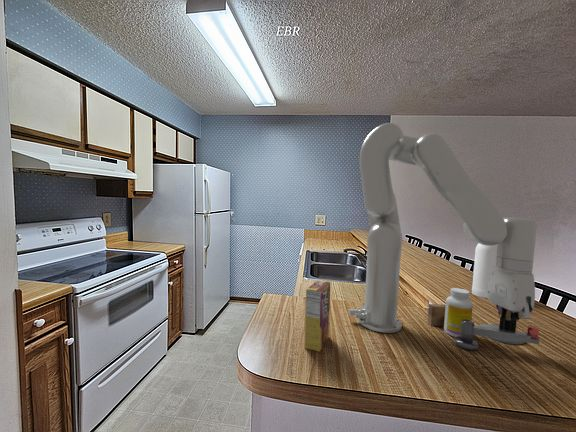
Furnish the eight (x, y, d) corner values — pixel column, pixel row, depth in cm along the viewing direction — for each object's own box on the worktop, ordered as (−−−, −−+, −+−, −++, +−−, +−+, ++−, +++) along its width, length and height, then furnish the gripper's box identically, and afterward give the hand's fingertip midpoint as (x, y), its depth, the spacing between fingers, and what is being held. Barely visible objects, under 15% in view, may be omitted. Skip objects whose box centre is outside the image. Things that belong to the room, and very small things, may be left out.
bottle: (467, 292, 119) (472, 223, 117) (480, 291, 122) (486, 223, 120) (485, 299, 112) (491, 225, 110) (499, 298, 114) (505, 225, 112)
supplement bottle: (474, 340, 77) (478, 295, 76) (448, 337, 78) (451, 293, 77) (464, 329, 83) (467, 288, 83) (440, 327, 85) (443, 285, 84)
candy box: (314, 333, 77) (317, 279, 77) (329, 336, 76) (332, 282, 75) (302, 348, 69) (305, 288, 68) (319, 352, 68) (322, 291, 67)
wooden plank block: (430, 325, 85) (432, 306, 85) (427, 322, 87) (428, 304, 87) (468, 326, 86) (470, 307, 85) (464, 323, 88) (466, 305, 87)
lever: (458, 348, 72) (460, 321, 71) (452, 338, 77) (454, 313, 76) (542, 361, 67) (545, 333, 67) (530, 350, 72) (532, 323, 72)
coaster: (496, 343, 75) (496, 341, 75) (468, 325, 86) (469, 323, 86) (535, 345, 76) (535, 342, 76) (503, 326, 87) (503, 324, 87)
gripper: (478, 258, 79) (473, 320, 81) (525, 271, 64) (518, 347, 66) (503, 259, 80) (497, 320, 81) (556, 272, 65) (548, 348, 66)
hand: (507, 332), depth 73 cm, fingers closed
